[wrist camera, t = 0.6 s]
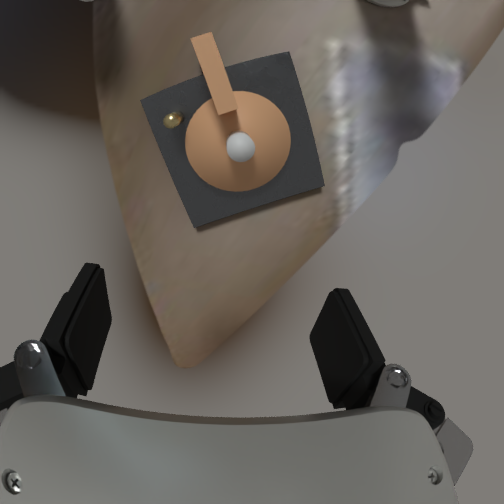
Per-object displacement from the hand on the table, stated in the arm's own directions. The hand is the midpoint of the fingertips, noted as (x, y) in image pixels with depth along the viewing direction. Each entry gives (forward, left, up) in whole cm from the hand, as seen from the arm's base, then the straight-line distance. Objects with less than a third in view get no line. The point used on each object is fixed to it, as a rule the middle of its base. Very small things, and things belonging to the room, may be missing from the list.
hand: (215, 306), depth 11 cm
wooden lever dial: (-3, -5, -25) cm, 25 cm away
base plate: (-3, -1, -27) cm, 27 cm away
